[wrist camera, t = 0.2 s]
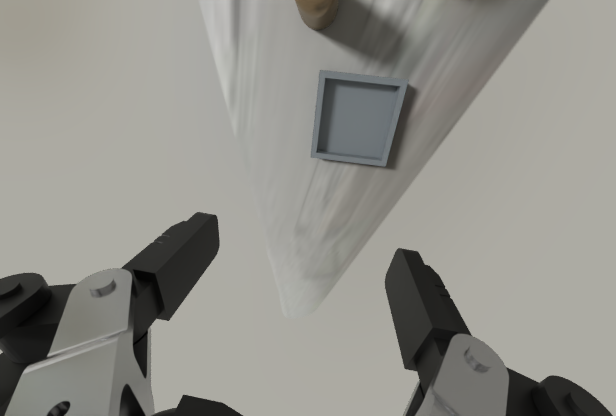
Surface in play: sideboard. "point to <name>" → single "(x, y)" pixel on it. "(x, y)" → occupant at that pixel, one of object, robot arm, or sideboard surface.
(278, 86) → the sideboard surface
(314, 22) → the bronze can
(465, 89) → the sideboard surface
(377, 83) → the tray
